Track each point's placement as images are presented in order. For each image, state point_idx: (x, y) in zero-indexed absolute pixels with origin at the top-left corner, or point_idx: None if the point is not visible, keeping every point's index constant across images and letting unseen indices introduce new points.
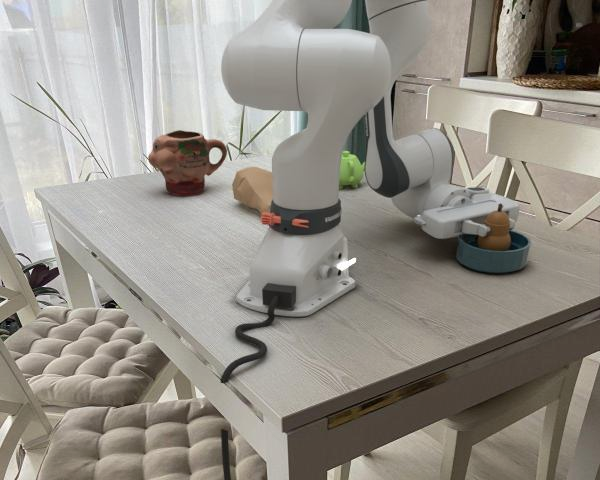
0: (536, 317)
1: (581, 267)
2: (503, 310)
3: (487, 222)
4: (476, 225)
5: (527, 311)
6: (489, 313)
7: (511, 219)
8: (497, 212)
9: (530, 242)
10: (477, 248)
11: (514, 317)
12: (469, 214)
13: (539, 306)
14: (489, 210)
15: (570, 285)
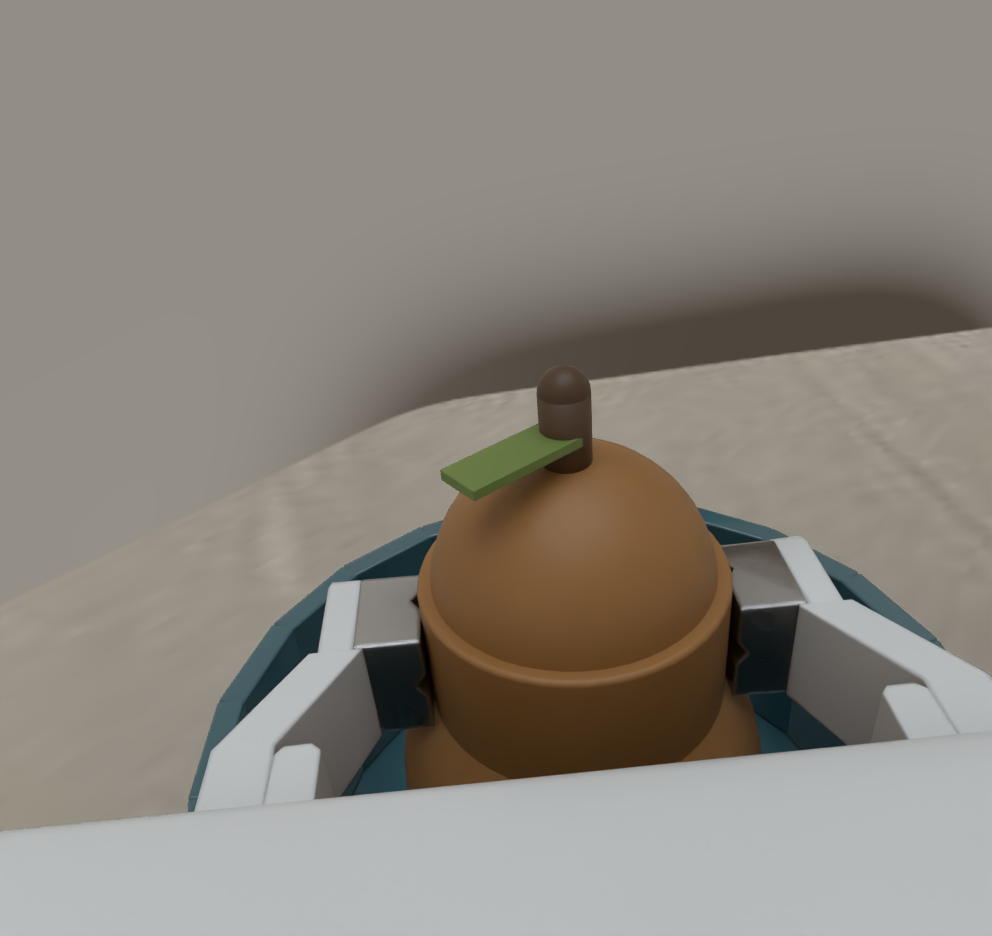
0: (757, 365)
1: (120, 588)
2: (871, 411)
3: (721, 568)
4: (867, 616)
5: (766, 391)
6: (950, 408)
7: (330, 611)
8: (612, 451)
9: (351, 565)
10: (884, 600)
11: (848, 376)
12: (920, 764)
13: (689, 403)
14: (437, 811)
15: (397, 478)
